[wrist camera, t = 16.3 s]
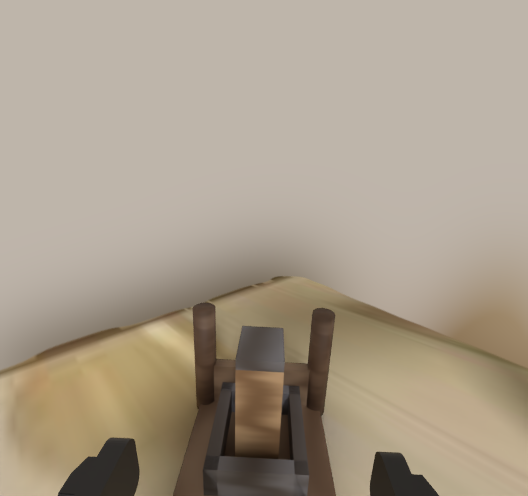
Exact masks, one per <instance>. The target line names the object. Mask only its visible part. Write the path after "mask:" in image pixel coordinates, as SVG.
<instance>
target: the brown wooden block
mask: <svg viewBox="0 0 528 496" xmlns="http://www.w3.org/2000/svg"><path fill="white" fill-rule="evenodd" d="M284 365H285V358H284V334H283V328H271V327H252V326H242V331H241V336H240V341H239V345H238V350H237V355H236V373H235V457H247V458H265V459H278V456H279V441H280V426H281V411H282V396H283V380H284Z"/></svg>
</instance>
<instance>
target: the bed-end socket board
mask: <svg viewBox="0 0 528 496" xmlns="http://www.w3.org/2000/svg"><path fill="white" fill-rule="evenodd" d="M334 322H335V313H334V312H333V311H331V310H329V309H325V308H317V309H315V310H313V314H312V324H311V335H310V346H309V356H308V364H304V363H285V365H284V380H283V396H282V411H281V426H280V441H279V456H278V459H265V458H247V457H235V373H236V360H223V359H216V321H215V306H214V305H213V304H211V303H200V304H197V305H195V306H194V307H193V326H194V350H195V373H196V397H197V408H198V409H199V410H198V414H197V417H196V420H195V424H194V427H193V430H192V434H191V437H190V440H189V444H188V447H187V450H186V454H185V457H184V460H183V464H182V467H181V470H180V474H179V477H178V480H177V484H176V487H175V490H174V494H173V496H336V494H335V488H334V483H333V478H332V472H331V467H330V462H329V456H328V451H327V445H326V440H325V435H324V429H323V424H322V419H321V416H322V415H323V413H324V405H325V397H326V388H327V380H328V372H329V363H330V355H331V347H332V338H333V330H334Z"/></svg>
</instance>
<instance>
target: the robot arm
mask: <svg viewBox="0 0 528 496" xmlns="http://www.w3.org/2000/svg"><path fill="white" fill-rule="evenodd" d="M138 480H139V464H138V458H137V452H136V445H135V441H134V439H130V438H109V439H108V440H107V441H106V443H105V444H104V446H103V447H102V449H101V451H100V452H99V454H98V456H97V457H87V458H86V459H85V460H84V461H83V462H82V463H81V464H80V465H79V466H78V467H77V468H76V469H75V470H74V471H73V472H72V473H71V474H70V476H69V477H68V479H67V481H66V482H65V484H64V485H63V487H62V488H61V490H60V491H59V493H58V496H134V494H135V492H136V488H137V485H138ZM370 496H439V495H438V494H437V492H436V491H435V490H434V489H433V488H432V486H431V485H430V484H429V483H428V482H427V480H426V479H425V478H424V477H423V475H414V474H411V472H410V469H409V467H408V465H407V462H406V460H405V458H404V456H403V455H402V454H401V453H393V452H376V454H375V459H374V464H373V470H372V475H371V481H370Z"/></svg>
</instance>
